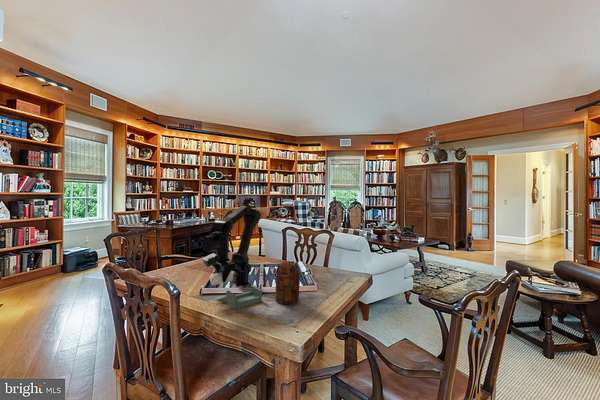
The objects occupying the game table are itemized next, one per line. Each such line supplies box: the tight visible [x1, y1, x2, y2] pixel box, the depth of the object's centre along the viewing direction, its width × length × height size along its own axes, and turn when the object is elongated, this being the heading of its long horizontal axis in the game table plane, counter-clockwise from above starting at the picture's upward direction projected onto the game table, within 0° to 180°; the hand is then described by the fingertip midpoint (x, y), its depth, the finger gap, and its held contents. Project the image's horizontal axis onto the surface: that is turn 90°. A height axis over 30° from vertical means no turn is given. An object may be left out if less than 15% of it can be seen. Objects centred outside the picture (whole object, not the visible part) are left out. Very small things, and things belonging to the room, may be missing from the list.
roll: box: [209, 271, 234, 286], centre depth 133 cm, size 9×5×5 cm, turn 130°
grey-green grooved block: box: [225, 284, 263, 310], centre depth 126 cm, size 13×8×5 cm, turn 130°
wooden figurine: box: [275, 260, 301, 306], centre depth 126 cm, size 12×6×18 cm, turn 73°
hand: (221, 280), depth 133 cm, fingers closed on roll, 5 cm apart
